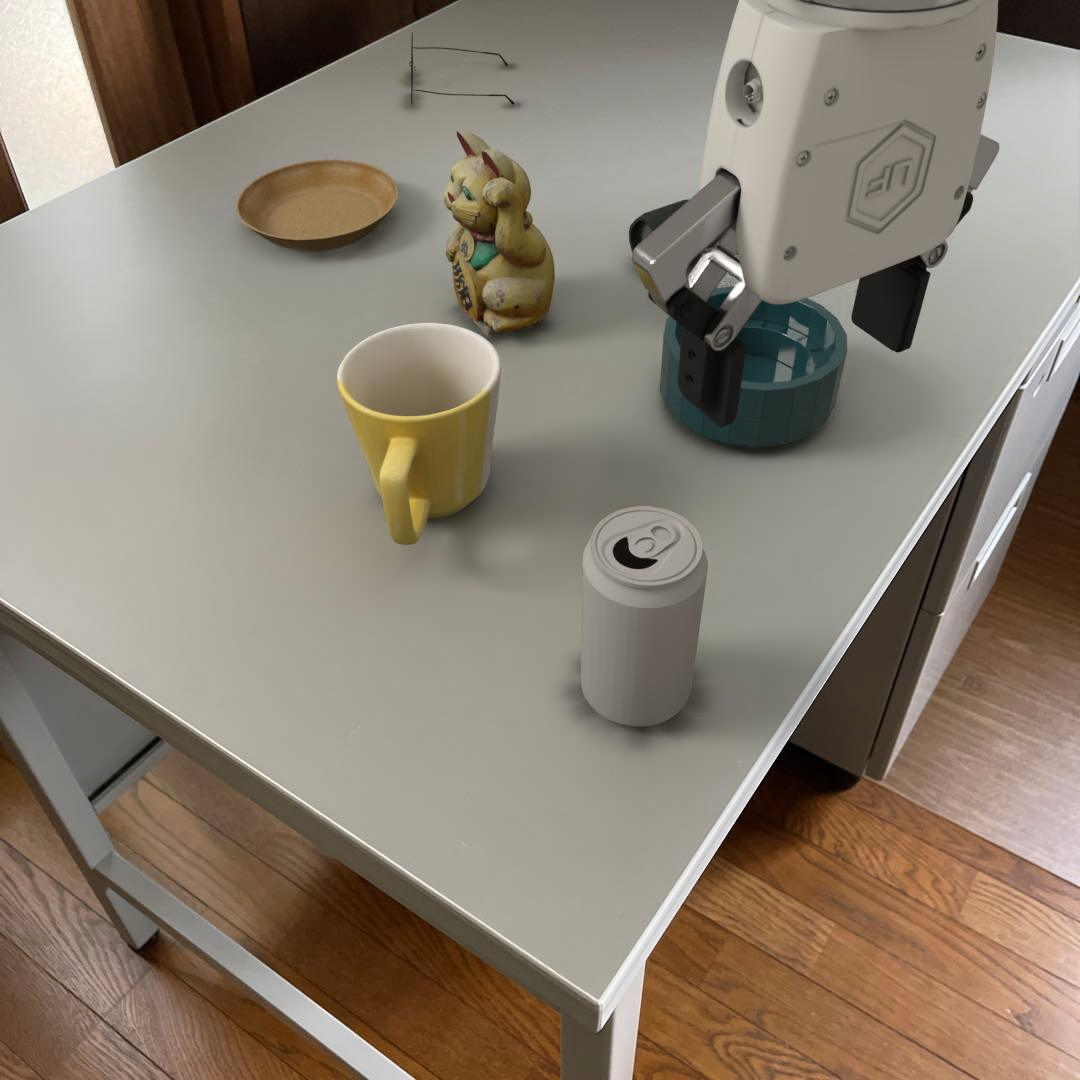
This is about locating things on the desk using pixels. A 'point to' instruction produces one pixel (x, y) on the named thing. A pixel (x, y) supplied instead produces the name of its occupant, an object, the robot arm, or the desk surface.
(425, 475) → the mug
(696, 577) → the beverage can
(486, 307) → the decorative figurine
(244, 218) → the plant saucer
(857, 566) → the desk surface
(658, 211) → the flashlight
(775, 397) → the bowl
